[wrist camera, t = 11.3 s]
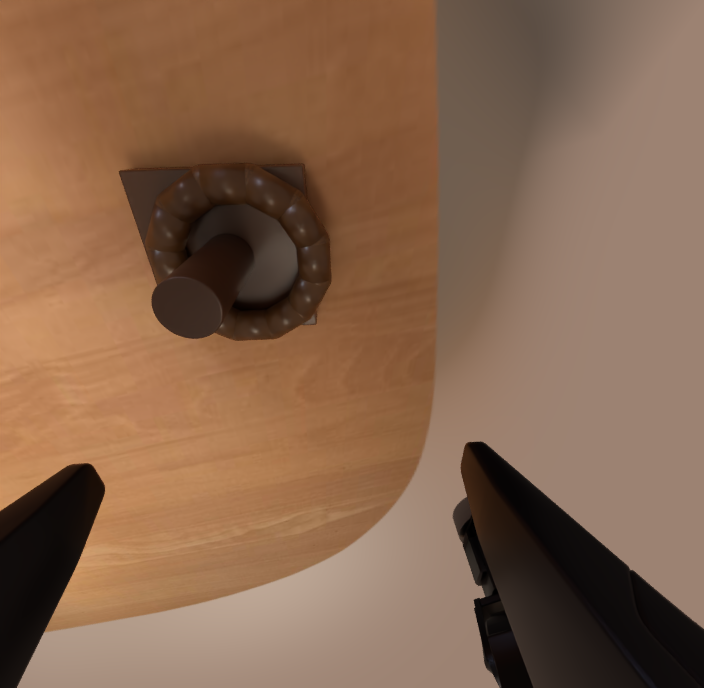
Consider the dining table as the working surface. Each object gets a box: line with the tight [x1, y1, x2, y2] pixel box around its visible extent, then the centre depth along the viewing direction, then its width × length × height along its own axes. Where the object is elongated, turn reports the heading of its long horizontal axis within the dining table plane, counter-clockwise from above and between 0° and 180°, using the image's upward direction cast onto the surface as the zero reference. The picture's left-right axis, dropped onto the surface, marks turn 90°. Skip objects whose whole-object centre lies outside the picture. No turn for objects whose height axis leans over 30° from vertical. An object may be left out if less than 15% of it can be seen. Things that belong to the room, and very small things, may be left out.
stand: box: [119, 164, 317, 339], centre depth 15 cm, size 8×8×7 cm
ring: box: [145, 163, 331, 341], centre depth 16 cm, size 8×8×2 cm
